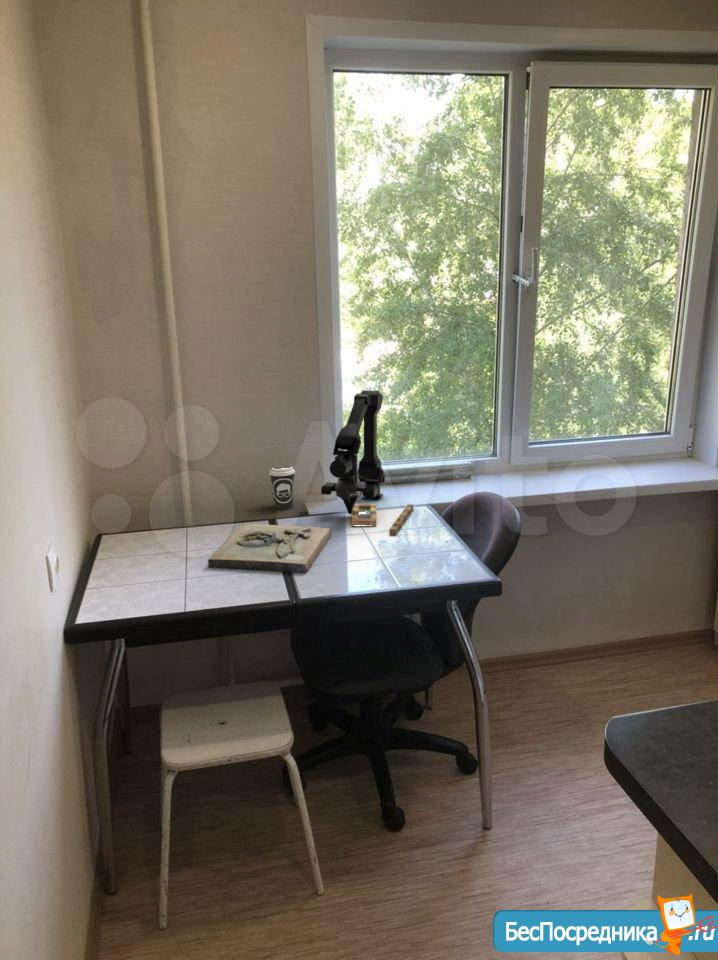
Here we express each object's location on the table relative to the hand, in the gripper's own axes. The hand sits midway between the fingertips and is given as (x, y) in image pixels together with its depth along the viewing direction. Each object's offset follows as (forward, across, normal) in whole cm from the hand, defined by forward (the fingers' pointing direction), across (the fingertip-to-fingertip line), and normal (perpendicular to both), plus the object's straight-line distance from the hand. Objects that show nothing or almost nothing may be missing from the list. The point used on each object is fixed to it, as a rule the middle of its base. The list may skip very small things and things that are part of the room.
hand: (350, 513), depth 250 cm
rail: (+1, +18, -1) cm, 19 cm away
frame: (+1, +5, 0) cm, 5 cm away
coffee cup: (+1, -26, +5) cm, 27 cm away
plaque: (+2, -13, -36) cm, 38 cm away
